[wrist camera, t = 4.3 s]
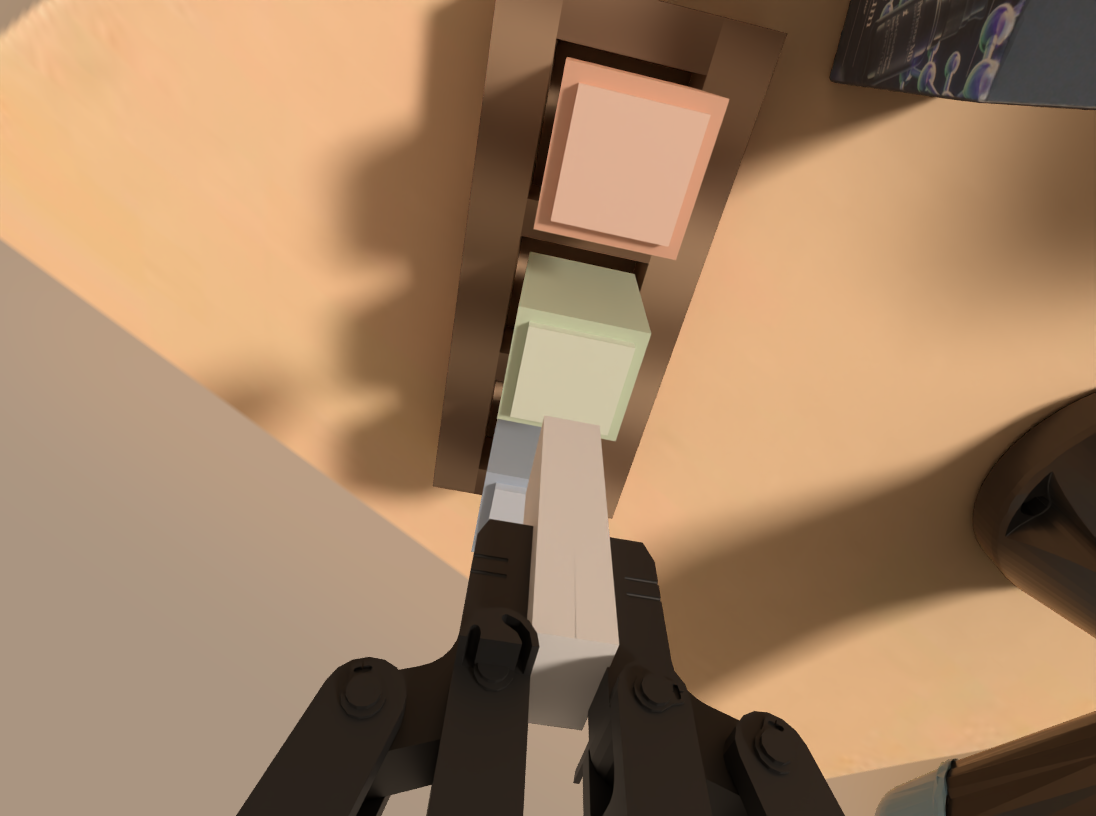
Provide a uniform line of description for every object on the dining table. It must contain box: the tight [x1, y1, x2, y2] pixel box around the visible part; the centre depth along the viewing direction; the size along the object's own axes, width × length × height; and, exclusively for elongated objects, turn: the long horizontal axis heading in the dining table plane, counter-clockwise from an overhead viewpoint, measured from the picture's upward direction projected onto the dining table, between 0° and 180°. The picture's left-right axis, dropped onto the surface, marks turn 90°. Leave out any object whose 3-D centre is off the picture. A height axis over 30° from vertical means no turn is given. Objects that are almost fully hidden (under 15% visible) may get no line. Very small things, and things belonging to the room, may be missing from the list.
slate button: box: [471, 419, 541, 552], centre depth 26 cm, size 4×4×6 cm
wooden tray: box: [433, 0, 787, 519], centre depth 27 cm, size 23×10×3 cm, turn 168°
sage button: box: [497, 252, 651, 441], centre depth 22 cm, size 4×4×6 cm
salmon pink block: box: [534, 57, 730, 260], centre depth 19 cm, size 4×4×6 cm
